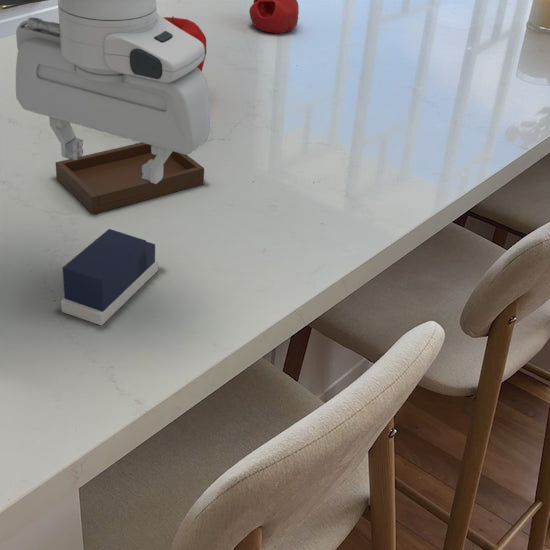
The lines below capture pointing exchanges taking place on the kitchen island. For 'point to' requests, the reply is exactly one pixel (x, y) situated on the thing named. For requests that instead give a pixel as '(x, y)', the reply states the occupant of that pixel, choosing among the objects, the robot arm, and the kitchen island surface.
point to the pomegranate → (274, 15)
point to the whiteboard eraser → (106, 275)
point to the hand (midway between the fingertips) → (112, 168)
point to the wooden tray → (124, 176)
